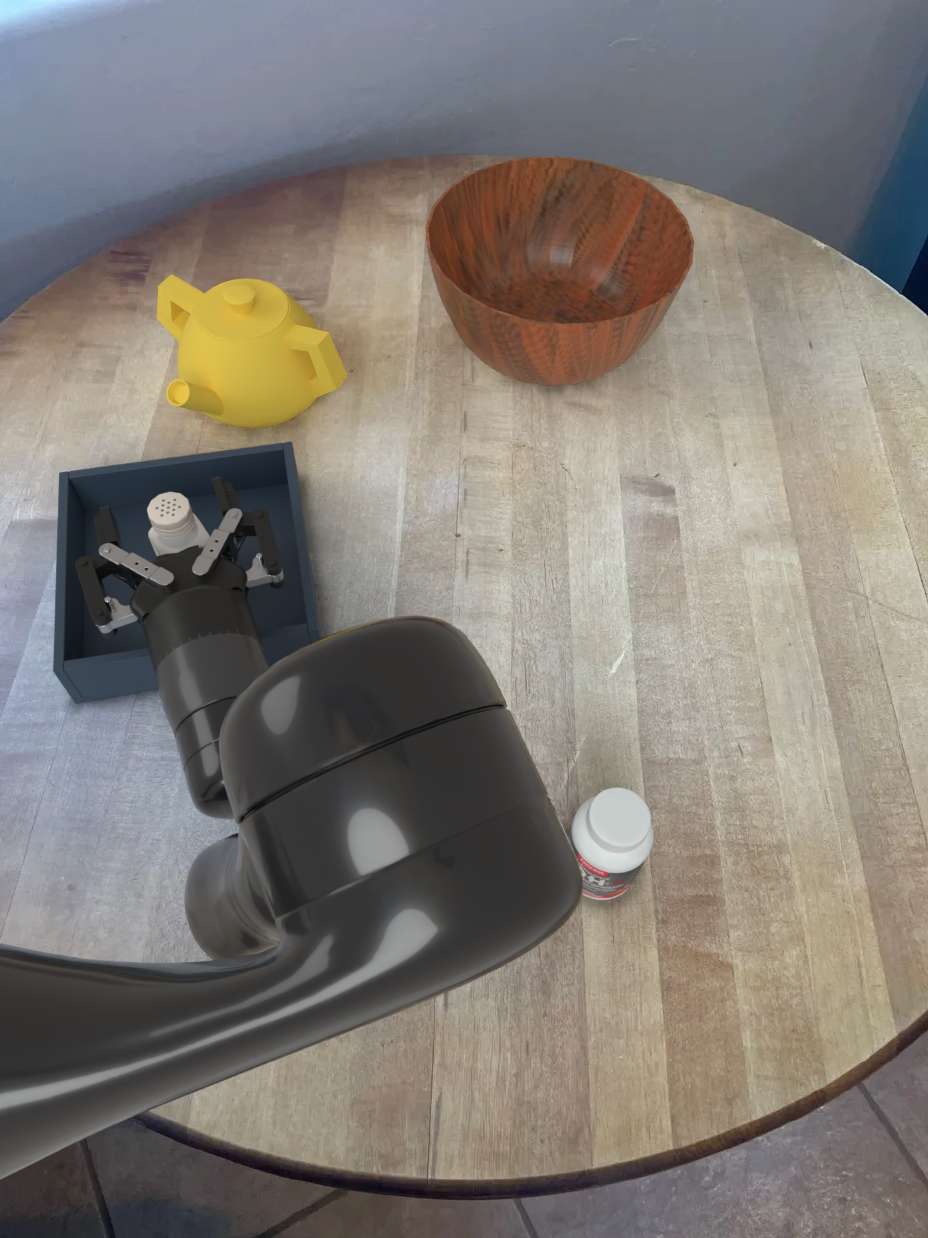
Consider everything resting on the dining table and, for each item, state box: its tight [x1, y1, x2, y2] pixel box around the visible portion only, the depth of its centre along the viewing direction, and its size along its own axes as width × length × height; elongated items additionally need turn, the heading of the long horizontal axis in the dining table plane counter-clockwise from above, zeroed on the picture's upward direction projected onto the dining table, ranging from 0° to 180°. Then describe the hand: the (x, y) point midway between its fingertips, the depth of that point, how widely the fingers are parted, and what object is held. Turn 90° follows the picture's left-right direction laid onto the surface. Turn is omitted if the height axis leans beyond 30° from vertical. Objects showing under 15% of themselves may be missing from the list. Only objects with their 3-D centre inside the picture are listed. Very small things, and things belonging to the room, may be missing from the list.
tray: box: [52, 441, 323, 704], centre depth 79 cm, size 20×20×5 cm
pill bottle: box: [567, 786, 655, 901], centre depth 65 cm, size 5×5×10 cm
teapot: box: [156, 273, 349, 429], centre depth 88 cm, size 20×18×11 cm
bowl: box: [424, 155, 695, 387], centre depth 94 cm, size 25×25×11 cm
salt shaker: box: [147, 492, 210, 556], centre depth 77 cm, size 4×4×10 cm
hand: (162, 498), depth 74 cm, fingers open, 8 cm apart
